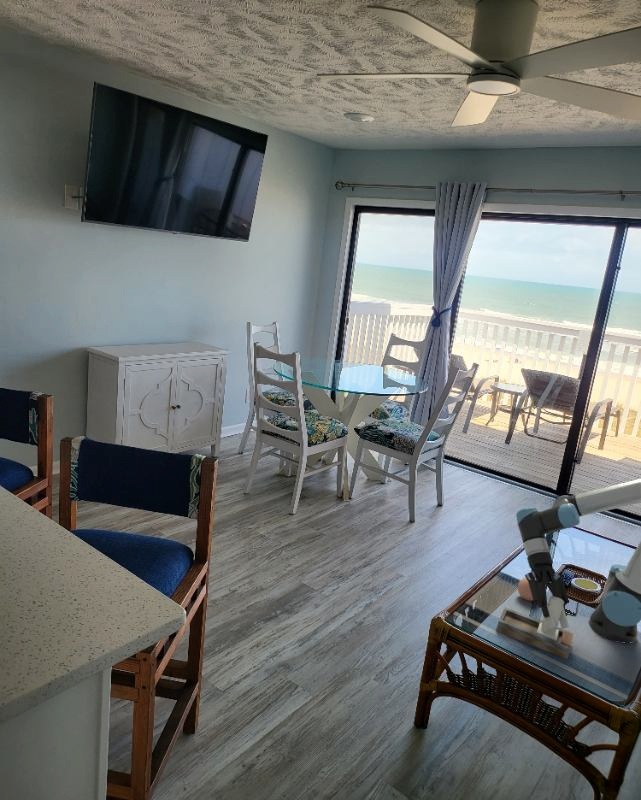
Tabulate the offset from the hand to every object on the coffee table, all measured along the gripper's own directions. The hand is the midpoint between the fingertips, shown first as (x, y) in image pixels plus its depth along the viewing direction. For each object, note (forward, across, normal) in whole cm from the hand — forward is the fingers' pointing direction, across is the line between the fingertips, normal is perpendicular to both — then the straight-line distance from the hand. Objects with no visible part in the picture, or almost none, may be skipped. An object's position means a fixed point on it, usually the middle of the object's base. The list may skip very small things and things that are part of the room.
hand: (558, 627), depth 191 cm
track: (+1, +3, -10) cm, 10 cm away
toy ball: (-15, -12, -26) cm, 32 cm away
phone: (-12, -26, -24) cm, 38 cm away
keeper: (+1, 0, -6) cm, 6 cm away
